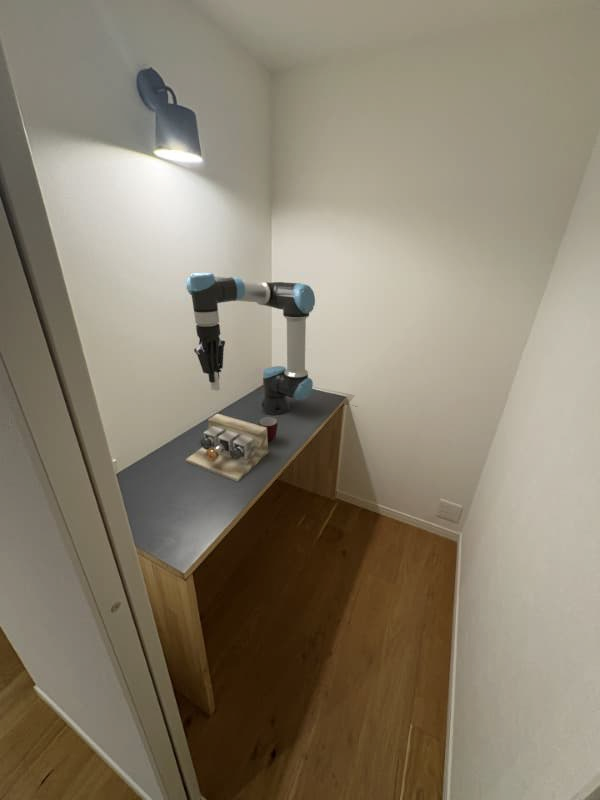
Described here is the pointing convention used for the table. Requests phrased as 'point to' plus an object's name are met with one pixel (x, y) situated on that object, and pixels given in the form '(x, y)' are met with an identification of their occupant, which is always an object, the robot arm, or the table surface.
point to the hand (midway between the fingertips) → (215, 389)
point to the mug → (269, 427)
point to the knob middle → (217, 451)
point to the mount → (232, 446)
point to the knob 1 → (207, 442)
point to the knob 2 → (237, 452)
